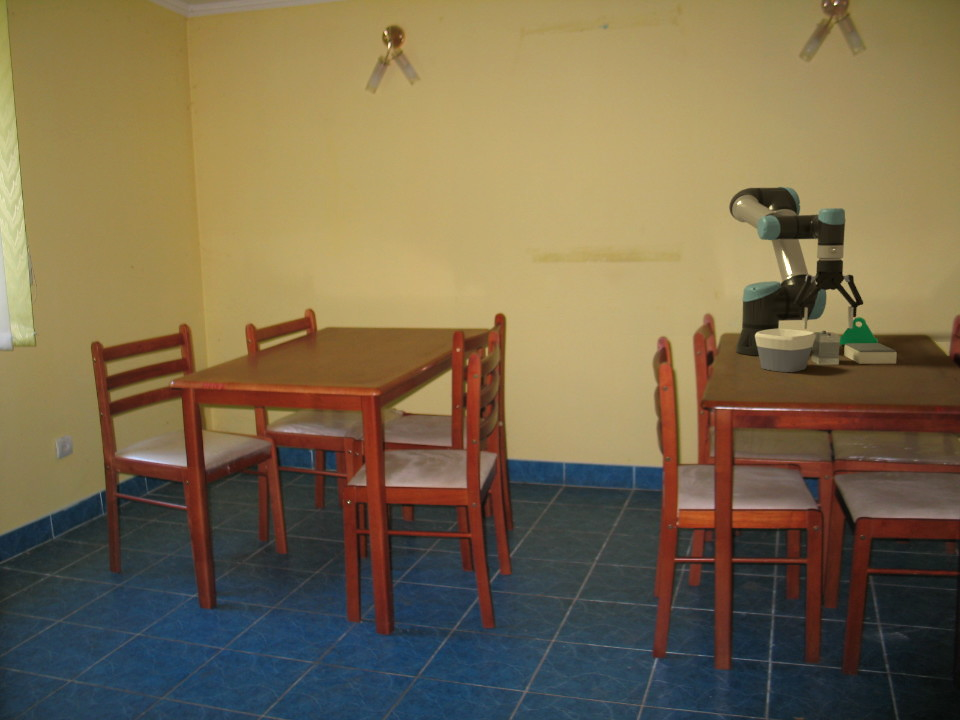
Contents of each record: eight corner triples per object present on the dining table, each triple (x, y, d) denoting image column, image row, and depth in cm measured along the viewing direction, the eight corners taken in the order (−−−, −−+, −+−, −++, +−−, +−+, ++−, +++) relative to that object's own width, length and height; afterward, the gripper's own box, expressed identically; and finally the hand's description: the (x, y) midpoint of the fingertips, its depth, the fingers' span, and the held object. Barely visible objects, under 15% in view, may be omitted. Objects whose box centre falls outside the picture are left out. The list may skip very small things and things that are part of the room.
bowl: (746, 369, 271) (748, 332, 269) (775, 362, 281) (776, 327, 279) (792, 375, 260) (794, 337, 258) (820, 368, 269) (822, 332, 268)
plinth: (859, 363, 276) (859, 350, 276) (844, 355, 291) (844, 343, 290) (896, 363, 275) (896, 350, 274) (879, 355, 290) (879, 343, 289)
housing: (818, 364, 276) (820, 334, 274) (811, 360, 284) (812, 330, 282) (838, 364, 275) (840, 333, 274) (831, 360, 283) (832, 330, 282)
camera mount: (877, 345, 309) (879, 316, 307) (876, 349, 303) (878, 319, 301) (840, 344, 315) (841, 315, 313) (838, 347, 308) (839, 317, 306)
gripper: (791, 260, 271) (788, 330, 275) (876, 259, 269) (872, 329, 272) (785, 259, 279) (782, 326, 282) (868, 258, 276) (864, 326, 280)
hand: (827, 328), depth 277 cm, fingers open, 13 cm apart
